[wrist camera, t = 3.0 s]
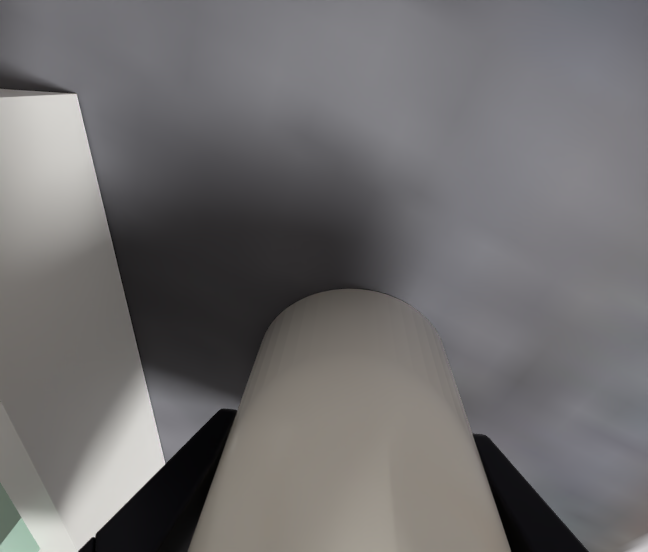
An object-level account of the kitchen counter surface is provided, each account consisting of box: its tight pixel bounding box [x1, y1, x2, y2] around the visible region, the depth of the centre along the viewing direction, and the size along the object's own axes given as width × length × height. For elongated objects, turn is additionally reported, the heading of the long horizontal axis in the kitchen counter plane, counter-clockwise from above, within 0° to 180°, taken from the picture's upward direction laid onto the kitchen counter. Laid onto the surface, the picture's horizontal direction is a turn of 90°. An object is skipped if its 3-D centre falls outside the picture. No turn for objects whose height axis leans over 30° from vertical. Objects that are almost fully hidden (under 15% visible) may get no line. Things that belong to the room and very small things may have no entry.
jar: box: [187, 289, 511, 552], centre depth 7 cm, size 6×6×9 cm
